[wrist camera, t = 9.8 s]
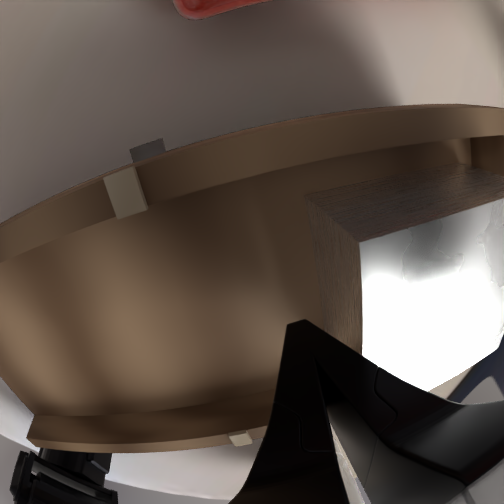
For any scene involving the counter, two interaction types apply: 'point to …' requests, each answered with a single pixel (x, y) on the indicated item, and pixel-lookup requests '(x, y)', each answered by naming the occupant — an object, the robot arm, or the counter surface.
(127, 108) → the counter surface
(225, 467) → the counter surface
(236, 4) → the plant saucer
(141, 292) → the wooden tray
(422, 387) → the steel block
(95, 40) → the counter surface
